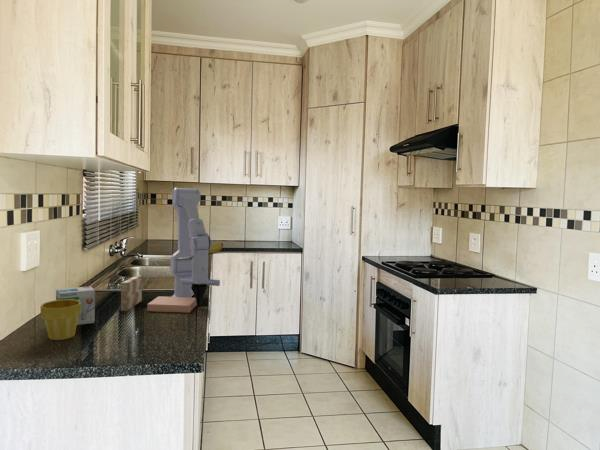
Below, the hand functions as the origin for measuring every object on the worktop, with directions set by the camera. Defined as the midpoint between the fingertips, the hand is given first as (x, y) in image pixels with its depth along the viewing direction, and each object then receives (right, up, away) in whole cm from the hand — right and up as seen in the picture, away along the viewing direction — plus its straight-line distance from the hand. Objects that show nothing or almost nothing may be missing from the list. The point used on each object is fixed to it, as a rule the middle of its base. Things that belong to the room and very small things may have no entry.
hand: (199, 304), depth 165 cm
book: (-10, -2, 0) cm, 10 cm away
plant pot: (-32, -3, -36) cm, 48 cm away
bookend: (-25, -1, +1) cm, 25 cm away
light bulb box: (-35, -2, -22) cm, 41 cm away
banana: (-28, +9, +145) cm, 148 cm away
